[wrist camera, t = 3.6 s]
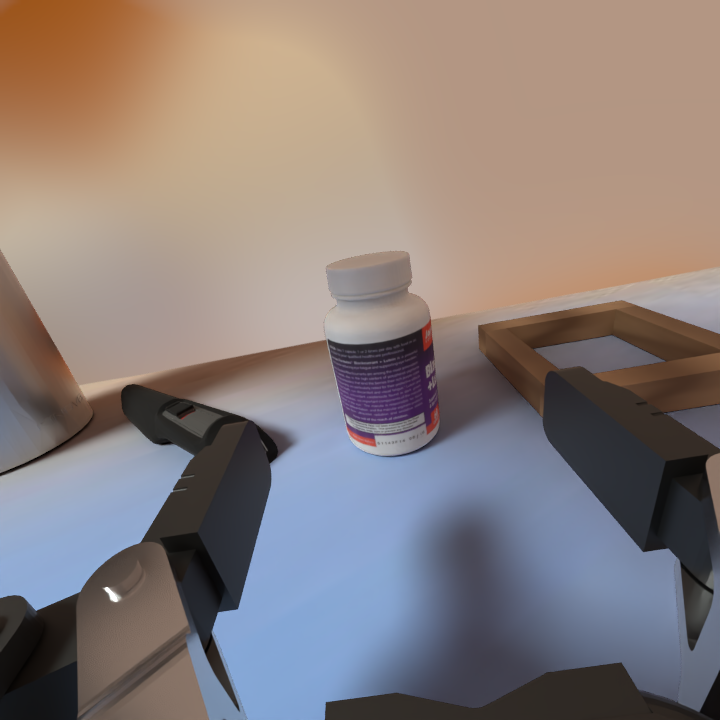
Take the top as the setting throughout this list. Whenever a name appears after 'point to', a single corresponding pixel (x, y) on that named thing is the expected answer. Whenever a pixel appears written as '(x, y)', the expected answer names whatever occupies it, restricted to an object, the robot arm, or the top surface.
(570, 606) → the top surface
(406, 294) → the pill bottle
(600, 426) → the robot arm
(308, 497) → the top surface
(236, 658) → the top surface
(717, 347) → the socket block
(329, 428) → the top surface
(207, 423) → the electric trimmer
